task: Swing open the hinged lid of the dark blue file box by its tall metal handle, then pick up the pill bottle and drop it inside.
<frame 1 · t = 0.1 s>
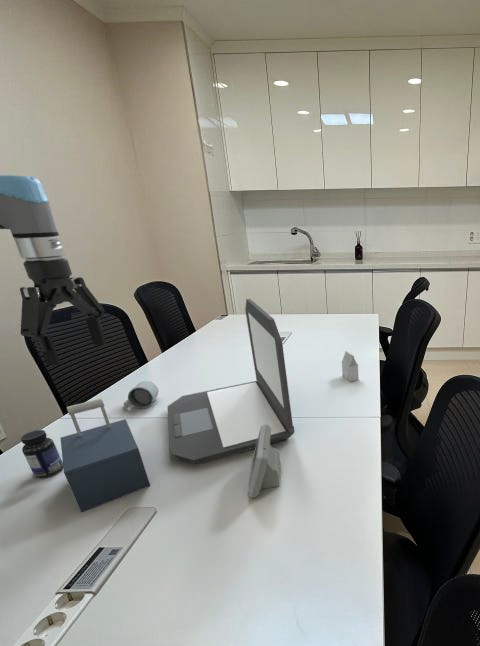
hand: (78, 353, 90), 30 cm above the table, tool pointing down, fingers open, 13 cm apart
dark blue file box: (112, 480, 94), on the table
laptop: (226, 421, 120), on the table
digital clock: (263, 478, 94), on the table
pill bottle: (49, 472, 99), on the table
ceramic mug: (142, 405, 133), on the table
lid: (93, 429, 89), point 14 cm above the table, hinge at 0.0°
grey house-shaped block: (350, 378, 149), on the table
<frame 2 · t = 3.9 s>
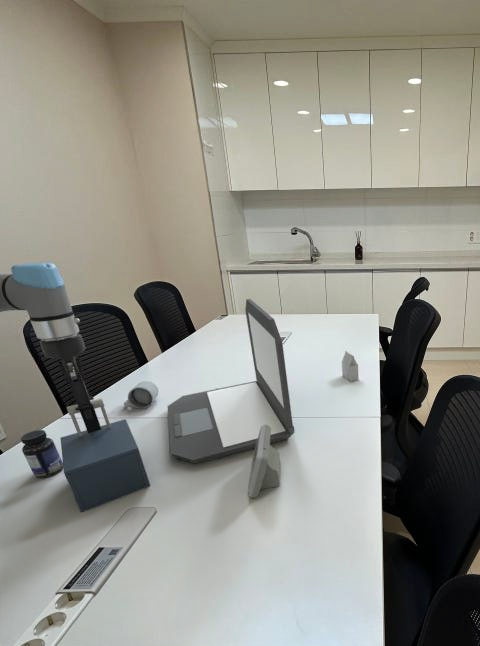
hand: (94, 428, 95), 12 cm above the table, tool pointing down, fingers closed on lid, 2 cm apart
lid: (93, 429, 89), point 14 cm above the table, hinge at 0.0°, touching gripper
everything else where it was.
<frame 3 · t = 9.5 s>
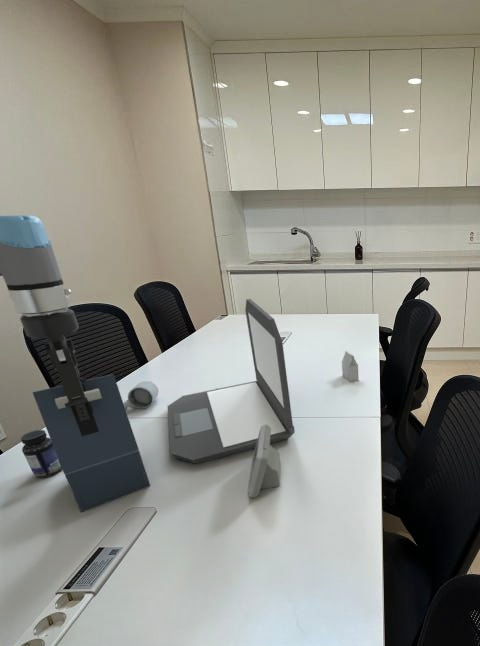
hand: (88, 422, 77), 22 cm above the table, tool pointing down, fingers open, 9 cm apart
lid: (89, 426, 79), point 20 cm above the table, hinge at 76.9°, touching gripper
everything else where it was.
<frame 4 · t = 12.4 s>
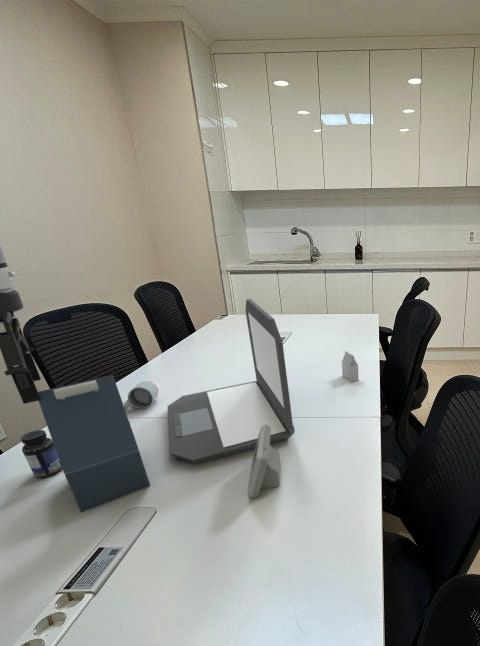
hand: (33, 390, 84), 25 cm above the table, tool pointing down, fingers open, 13 cm apart
lid: (88, 421, 81), point 20 cm above the table, hinge at 62.3°, touching gripper
everything else where it was.
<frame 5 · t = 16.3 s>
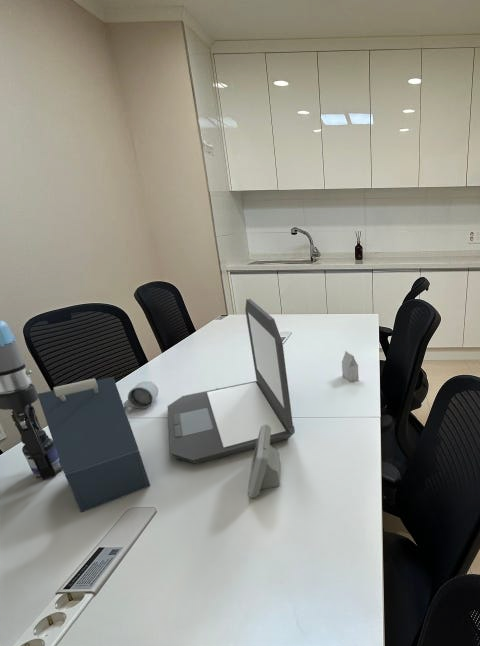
hand: (49, 470, 98), 0 cm above the table, tool pointing down, fingers closed on pill bottle, 6 cm apart
pill bottle: (49, 472, 99), on the table, touching gripper
lid: (88, 419, 81), point 20 cm above the table, hinge at 56.0°
everything else where it was.
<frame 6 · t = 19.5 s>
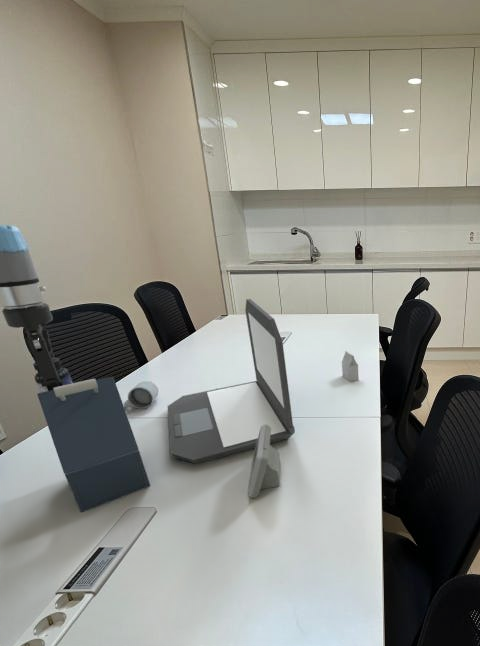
hand: (63, 404, 90), 20 cm above the table, tool pointing down, fingers closed on pill bottle, 6 cm apart
pill bottle: (64, 406, 90), point 19 cm above the table, touching gripper
lid: (88, 419, 81), point 20 cm above the table, hinge at 57.0°, touching gripper
everything else where it was.
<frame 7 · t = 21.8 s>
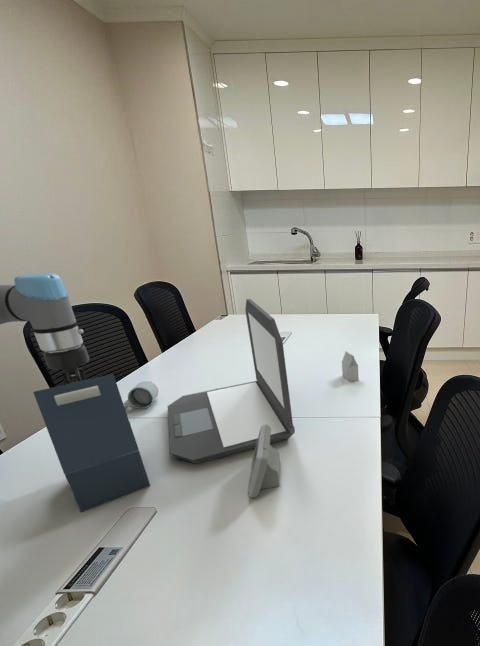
hand: (97, 438, 93), 10 cm above the table, tool pointing down, fingers closed on pill bottle, 6 cm apart
pill bottle: (98, 440, 93), point 10 cm above the table, touching gripper
lid: (89, 424, 79), point 20 cm above the table, hinge at 72.8°
everything else where it was.
when the fingers open (10 cm above the table, at t = 22.2 s): pill bottle drops 9 cm, resting on dark blue file box.
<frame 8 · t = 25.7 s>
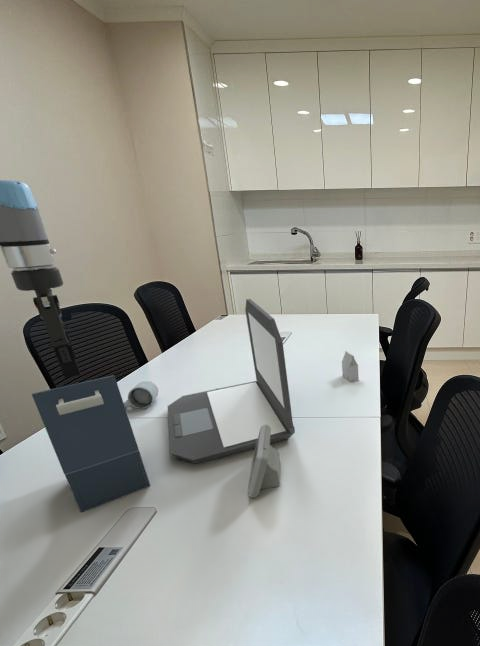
hand: (70, 367, 86), 29 cm above the table, tool pointing down, fingers open, 13 cm apart
pill bottle: (109, 471, 97), point 1 cm above the table, touching dark blue file box
lid: (90, 429, 78), point 20 cm above the table, hinge at 83.6°
everything else where it was.
at the end: lid at +84° (first picture: +0°); pill bottle inside the target area in the dark blue file box (3.5 cm from its centre), point 0.7 cm above the dark blue file box's base; the gripper is holding nothing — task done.
